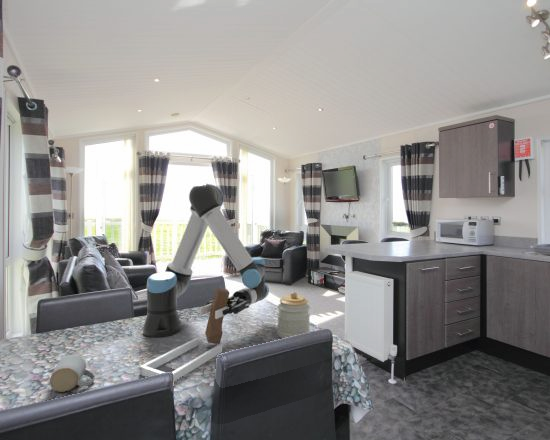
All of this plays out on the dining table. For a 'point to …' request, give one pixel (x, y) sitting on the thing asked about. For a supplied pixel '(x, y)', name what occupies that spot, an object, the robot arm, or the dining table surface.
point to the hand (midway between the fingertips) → (208, 313)
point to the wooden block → (215, 325)
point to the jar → (293, 316)
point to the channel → (150, 367)
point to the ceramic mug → (70, 374)
